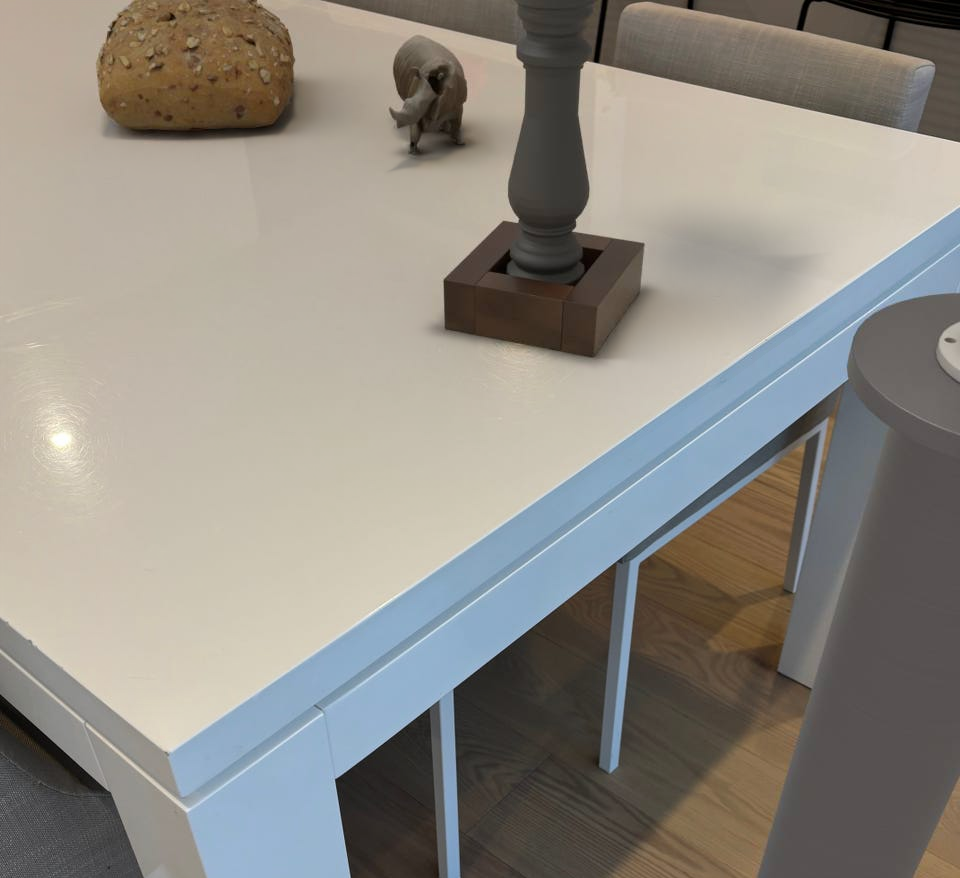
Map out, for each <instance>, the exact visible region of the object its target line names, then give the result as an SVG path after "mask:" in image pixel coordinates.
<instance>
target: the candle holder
mask: <svg viewBox="0 0 960 878" xmlns="http://www.w3.org/2000/svg"><path fill="white" fill-rule="evenodd" d="M513 1H514V2H515V3H516V4H517V10H516V11H517V12H516V13H517V15H518V17H519V19H520V20H521V22H522V28H523V30H525V32H526V35H525V36H524V38H522V39H521V40H519V42H518V43H517V44H516V47H515V55H516V59H517V60H518V61H520V62H521V63H522V68H523V69H524V70H525V77H524V80H525V86H524V114H523V118H522V122H521V127H520V131H519V134H518V140H517V143H516V148H515V152H514V157H513V160H512V165H511V168H510V169H511V170H510V173H509V177H508V180H507V181H508V182H507V198H508V203H509V205H510V208H511V209H512V212H513V214H514V215H515V216H516V217H517V219H518V221H517V223H518V226H519V228H520V229H521V230H522V231H521V232H520V233H519V235H518V236H517V237H516V240H515V241H514V242H513V243H512V244H511V246H510V257H511V259H512V260H511V261H510V262H509V263H508V264H507V275H511V276H517V277H523V278H528V279H534V280H540V281H546V282H551V283H557V284H563V285H569V286H574V287H575V286H576V285H577V284H578V282H579V281H580V280H581V279H582V277H583V276H584V275H585V269H584V265H583V264H582V263H581V262H580V260H581V259H582V257H583V250H582V245H581V244H580V243H579V242H578V241H577V237H576V236H575V234H574V233H573V232H574V230H575V229H576V228H577V219H578V218H579V217H580V216H581V215H582V214H583V212H584V210H585V208H586V207H587V205H588V202H589V198H590V187H591V186H590V181H589V174H588V173H589V172H588V168H587V161H586V156H585V155H586V154H585V149H584V142H583V136H582V129H581V124H580V116H579V110H580V109H579V108H580V106H579V105H580V89H581V88H580V87H581V73H582V71H581V70H582V69H584V67H585V66H584V65H585V63H586V62H588V61H589V60H590V59H591V57H592V51H593V50H592V44H590V42H589V41H588V40H587V39H586V38H584V36H583V33H584V31H585V30H586V29H587V27H588V26H587V25H588V23H589V20H590V19H591V18H592V17H593V15H594V5H595V3H597V2H598V1H599V0H513Z"/></svg>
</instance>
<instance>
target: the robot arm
mask: <svg viewBox="0 0 960 878" xmlns="http://www.w3.org/2000/svg"><path fill="white" fill-rule="evenodd" d="M936 355H937V359H938V361H939V363H940V365H941V367H942V368H943V369H944V370H945V371H946V372H947V374H948V375H950V376H951V377H952V378H954V379H955V380H956V381H957V382H959V383H960V322H958V323H956V324H954V325H952V326H950V327H949V328H947V329H946V330H945V331H944V332H943V333H942V335H941V337H940V339H939V342H938V346H937V349H936Z"/></svg>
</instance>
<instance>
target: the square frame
mask: <svg viewBox="0 0 960 878" xmlns="http://www.w3.org/2000/svg"><path fill="white" fill-rule="evenodd" d="M521 231H522V230H521V229H520V228H519V226H518V222H514V221H509V220H502V221H501V222H500V223H499V224H498V225H497V226H496V227H495V228H494V229H493V230H492V231H491V232H490V233H489V234H487V236H486V237H485V238H484V239H483V240H482V241H481V242H479V244H478V245H477V246H476V247H475V248H474V249H472V251H470V252H469V254H467V255H466V257H465V258H463V259H462V260H461V262H460V263H458V264H457V265H456V266H455V267H454V268H453V269H452V270H451V271H450V272H449V273H448V275H446V276H445V277H444V278H443V279H442V280H443V281H442V283H443V312H444V313H443V316H444V329H446V330H453V331H455V332H457V331H458V332H462V333H467V334H472V335H477V336H481V337H488V338H493V339H498V340H502V341H507V342H508V341H509V342H514V343H519V344H523V345H529V346H535V347H540V348H544V349H549V350H555V351H560V352H566V353H570V354H576V355H580V356H586V357H593V358H594V357H595V356H596V354H597V352H598V351H599V350H600V348H601V347H602V345H603V344H604V342H605V341H606V340H607V338H608V337H609V335H610V334H611V333H612V331H613V330H614V328H615V327H616V326H617V324H618V323H619V321H620V320H621V318H622V317H623V316H624V314H625V313H626V312H627V310H628V308H629V306H630V305H631V304H632V302H633V301H634V300H635V298H636V297H637V295H638V294H639V292H640V291H641V284H642V272H643V265H644V254H645V242H639V241H635V240H628V239H623V238H622V239H621V238H616V237H615V238H614V237H610V236H603V235H596V234H590V233H584V232H578V231H572V232H573V233H574V234H575V236H576V237H577V241H578V242H579V243H580V244H581V245H582V250H583V257H582V259H581V260H580V262H581V263H582V264H583V265H584V269H585V275H584V276H583V277H582V279H581V280H580V281H579V282H578V284H577V285H576V286H575V287H574V286H569V285H563V284H557V283H551V282H546V281H540V280H534V279H528V278H523V277H517V276H511V275H507V264H508V263H509V262H510V261H511V260H512V259H511V257H510V246H511V244H512V243H513V242H514V241H515V240H516V237H517V236H518V235H519V233H520V232H521Z"/></svg>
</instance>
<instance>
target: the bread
mask: <svg viewBox="0 0 960 878" xmlns="http://www.w3.org/2000/svg"><path fill="white" fill-rule="evenodd" d="M116 15H117V17H116V18H115V19H113V20H112V21H111V22H110V23H109V25H107V28H108V29H109V30H108V31H107V33H106V38H105V42H104V43H102V44H101V47H100V49H99V52H98V54H97V55H98V56H97V58H96V62H95V69H96V77H97V87H98V95H99V101H100V104H101V106H102V108H103V110H104V111H105V113H106V114H107V116H108V117H110V118H111V120H113V122H115V123H117V124H118V125H120V126H122V127H124V128H127V129H131V130H137V131H138V130H139V131H141V130H145V131H147V130H161V131H162V130H163V131H188V132H189V131H190V132H191V131H195V132H197V131H201V130H218V129H236V128H237V129H238V128H239V129H255V128H260V127H267V126H272V125H274V123H276V121H277V119H278V118H279V117H280V116H281V114H282V112H283V111H284V109H285V108H286V107H287V106H288V105H289V104H291V103H292V101H291V100H290V99H291V98H292V93H293V88H294V83H295V81H294V79H295V78H294V77H295V73H294V72H295V71H294V65H295V62H296V57H295V56H294V47H293V42H292V38H291V35H290V32H289V29H288V28H286V25H285V24H284V23H283V22H282V21H281V19H280V17H278V16H277V15H276V14H275V13H273V12H271V11H269V10H268V9H267V8H266V7H264V6H263V5H262V4H261V3H258V0H132V1H130V3H129V4H128V5H126V6H125V7H124V8H123V10H121V11H119V12H116Z"/></svg>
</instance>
